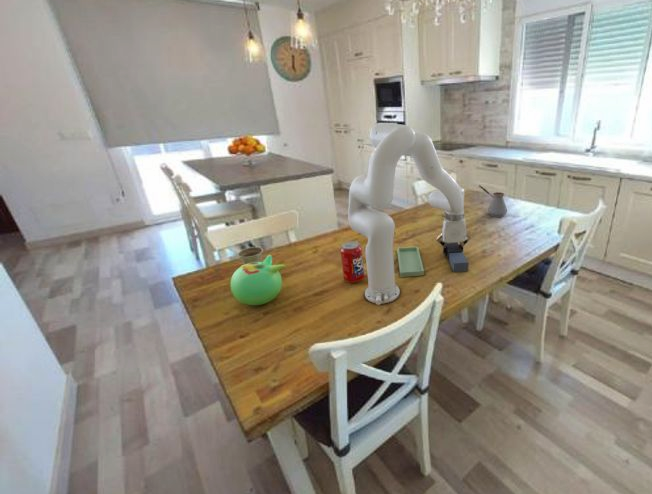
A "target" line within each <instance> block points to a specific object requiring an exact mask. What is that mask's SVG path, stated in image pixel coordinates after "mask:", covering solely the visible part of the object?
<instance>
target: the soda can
mask: <svg viewBox="0 0 652 494" xmlns="http://www.w3.org/2000/svg"><path fill="white" fill-rule="evenodd" d="M362 249H363V248H362V246H361V245H360V243H359V242H357V241H346V242H344V243H342V244H341V248H340V249H339V250H340V258H341V266H342V275H343V280H344V281H345V282H347V283H354V284H355V283H358V282H361V281H362V280H363V279H364V277H365V270H364V261H363V252H362V251H363V250H362Z"/></svg>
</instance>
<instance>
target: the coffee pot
mask: <svg viewBox="0 0 652 494" xmlns="http://www.w3.org/2000/svg"><path fill="white" fill-rule="evenodd" d="M478 189H482V190H483V192H484V193H486V194H488V195H489V196H490V197H491V198H492V200H491V201H490V203H489V205H488V207H487V212H488V214H489V215H490V216H491V217H494V218H501V217H504V215H506V214H507V213H508V207H507V205H506V202H505V200H504V196H505V193H504V192H501V191H499V192H498V191H495V192H493V193H492V194H491V193H490V192H489V191H488V190H487V189H486V188H484V187H483V186H482V185H480V184H479V185H478Z"/></svg>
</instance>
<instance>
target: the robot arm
mask: <svg viewBox="0 0 652 494" xmlns="http://www.w3.org/2000/svg"><path fill="white" fill-rule="evenodd" d="M368 137H369V141H370V143H371V145H372V146H373V147H374V149H373V151H372V152H371V155H370V157H369V159H368V169H367V174H360V175H357V176H356V177H354V179H353V180H352V182H351V184H350V187H349V191H348V209H347V210H348V211H347V213H348V214H347V220H348V225H349V227H350V229H351V230H352V231H353V232H355V233H357V234H360V235H362V236H363V237H366V238H367V243H366V245H365V251H364V253H365V263H366V272H367V273H366V274H367V275H366V276H367V283H368V284H367V285H368V287H367V288H366V289H365V291H364V297H365V299H366V300H367V301H368V302H370V303H373V304H376V305H377V306H380V305H382V304H387V303H391V302H393V301H395V300H396V299H398V298H399V296H400V293H401V291H400V288H399V287H400V286H398V285H397V284H396V277H395V276H396V275H395V257H394V236H395V230H396V225H395V221H394V219H393V218H392V217H391V216H390V215H388V214H387V213H385V212H382V211H379V210H377V209H387V208H389V207H390V205H392V202H393V198H394V190H395V189H394V188H395V177H396V176H395V175H396V168H397V164H398V162H399V161H400V159H401V158H402V157H403V156H405V157H411V158H412V160H413V162H414V165H415V167H416V169H417V171H418V174H419V176H420V178H421V179H422V180H423V181H424V182H426V183H427V184H429V185H430V186H432V187H433V188H435V189H436V190H433V191H432V192H431V193H430V194H429V196H428V204H429V205H430V206H431V207H432V208H434V209H437V210H440V211H444V213H442V214H441V217H442V218H443V222H442V227H441V233H440V234H439V235H438V236H437V237H436V238H435V241H436V242H437V243H438V244H439V245H441V246H442V252H443V254H444V255H445V257H447V244H448V243H458V244H459V246H460V248H461V250H462V252H463V253H464V247H465V245H466V244H467V243H468V242H469V241H470V240H472V237H471V235H470V234H468V233H467V224H466V218H465V217H464V218H463V212H464V208H465V207H464V206H465V189H464V188H463V187H461V186H459V184H458V183H457V181H456V180H455V179H454V178H453V177H452V176H451V175H450V174H449V173H448V171H447V170H446V169H444V168H443V166H442V163H441V160H440V159H439V156H438V153H437V150H436V147H435V146H434V142H433V139H432V138H431V136H429V135H428V134H427V133H424V132H417V131H415V130H414V129H413V128H412V127H411V126H410V125H407V124H400V123H386V122H380V123H376V124H374V125H373V126H372V127H371V129H370V131H369V136H368ZM373 208H376V209H373Z"/></svg>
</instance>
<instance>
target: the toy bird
mask: <svg viewBox="0 0 652 494" xmlns="http://www.w3.org/2000/svg"><path fill="white" fill-rule="evenodd" d="M284 268H286V265H285V264H282V263H281V264H273V255H271V254H268V255H267V256H266V257H265V259H264V260H262V262H252V263H248V264H245V265H243V264H242V265H240V267H239V268H237V269H236V270H235V271H234V272H233V274H232V276H231V278H230V283H229V285H230V290H231V294H232V295H233V297H234V298H235V299H236V300H237V301H238V302H240V303H242V304H244V305H247V306H262V305H265V304H268V303H270V302H271V301H273V300H275V299H276V297H277V296H278V295H279V294H280V292H281V290H282V287H283V279H282V275H281V273H280V271H281V270H283V269H284Z"/></svg>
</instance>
